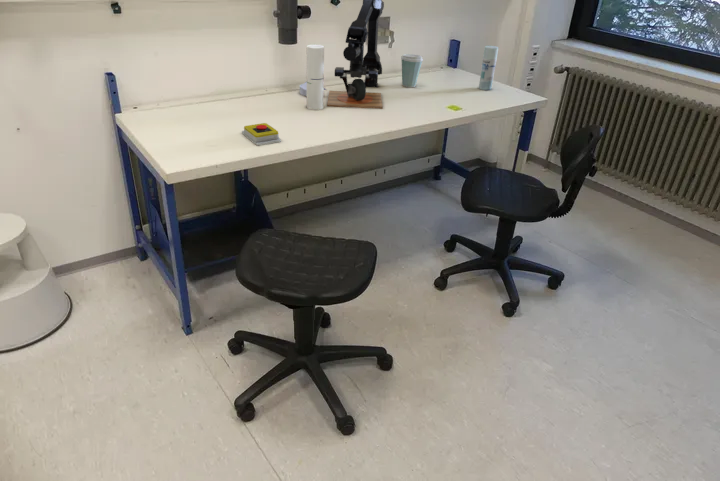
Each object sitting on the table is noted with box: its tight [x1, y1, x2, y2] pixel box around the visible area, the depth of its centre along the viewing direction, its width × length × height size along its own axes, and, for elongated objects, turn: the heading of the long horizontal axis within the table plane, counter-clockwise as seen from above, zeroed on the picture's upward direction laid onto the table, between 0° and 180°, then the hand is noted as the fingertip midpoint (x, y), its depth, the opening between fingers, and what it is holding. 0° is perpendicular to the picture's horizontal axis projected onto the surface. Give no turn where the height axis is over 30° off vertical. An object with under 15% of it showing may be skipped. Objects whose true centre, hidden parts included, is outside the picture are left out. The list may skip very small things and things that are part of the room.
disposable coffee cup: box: [400, 53, 424, 88], centre depth 262 cm, size 11×11×15 cm
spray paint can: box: [478, 45, 499, 91], centre depth 263 cm, size 6×6×20 cm
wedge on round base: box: [299, 80, 327, 97], centre depth 244 cm, size 9×7×13 cm
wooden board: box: [326, 90, 384, 110], centre depth 240 cm, size 22×24×1 cm
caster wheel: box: [347, 78, 367, 101], centre depth 238 cm, size 6×10×15 cm
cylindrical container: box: [305, 43, 325, 111], centre depth 223 cm, size 7×7×25 cm
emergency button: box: [241, 122, 282, 147], centre depth 194 cm, size 9×4×15 cm
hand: (355, 92), depth 239 cm, fingers closed on caster wheel, 7 cm apart
